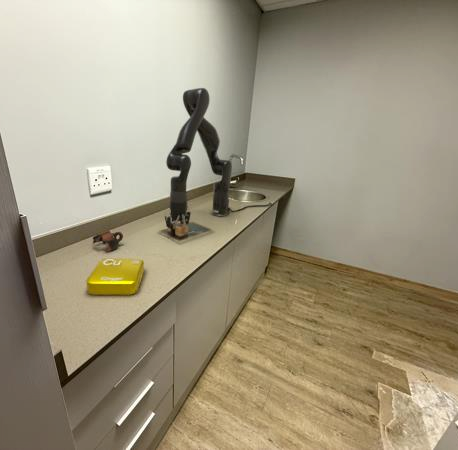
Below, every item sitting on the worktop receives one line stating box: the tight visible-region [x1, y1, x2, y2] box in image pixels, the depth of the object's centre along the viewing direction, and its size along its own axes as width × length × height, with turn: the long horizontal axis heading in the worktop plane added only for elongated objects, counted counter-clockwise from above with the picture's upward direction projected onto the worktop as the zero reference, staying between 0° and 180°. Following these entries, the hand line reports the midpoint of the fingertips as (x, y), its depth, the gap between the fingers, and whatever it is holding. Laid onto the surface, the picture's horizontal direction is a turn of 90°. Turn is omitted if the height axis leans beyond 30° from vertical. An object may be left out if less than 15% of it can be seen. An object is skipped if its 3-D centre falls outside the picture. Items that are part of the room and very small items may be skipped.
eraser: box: [167, 221, 188, 239], centre depth 115 cm, size 5×9×5 cm, turn 45°
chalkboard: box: [159, 221, 213, 242], centre depth 121 cm, size 22×16×1 cm
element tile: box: [86, 258, 145, 296], centre depth 79 cm, size 15×15×5 cm
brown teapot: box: [92, 229, 124, 253], centre depth 102 cm, size 12×10×8 cm
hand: (177, 234), depth 115 cm, fingers closed on eraser, 5 cm apart
